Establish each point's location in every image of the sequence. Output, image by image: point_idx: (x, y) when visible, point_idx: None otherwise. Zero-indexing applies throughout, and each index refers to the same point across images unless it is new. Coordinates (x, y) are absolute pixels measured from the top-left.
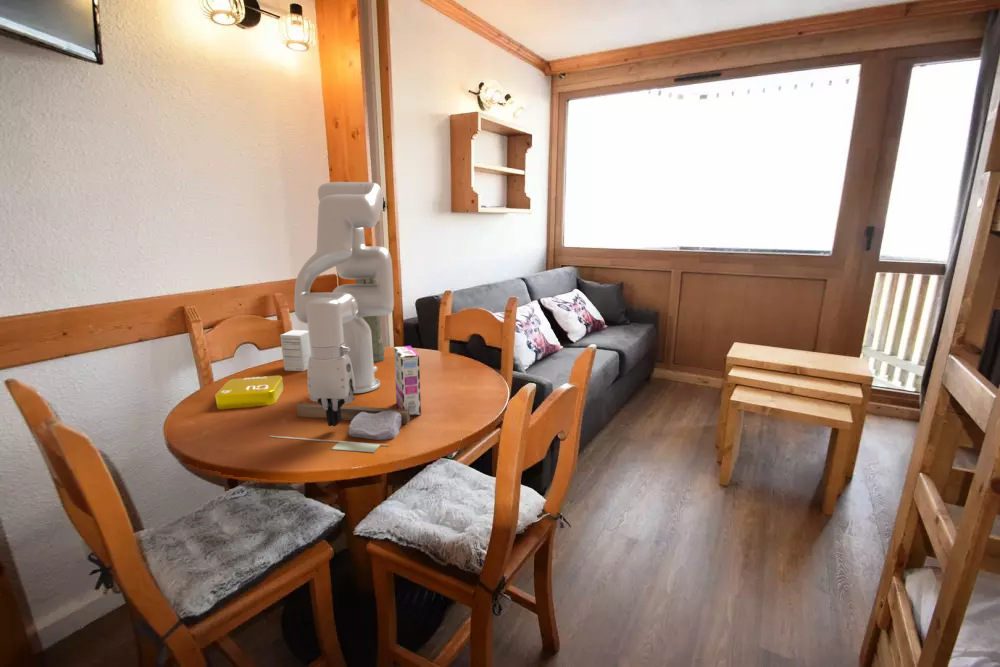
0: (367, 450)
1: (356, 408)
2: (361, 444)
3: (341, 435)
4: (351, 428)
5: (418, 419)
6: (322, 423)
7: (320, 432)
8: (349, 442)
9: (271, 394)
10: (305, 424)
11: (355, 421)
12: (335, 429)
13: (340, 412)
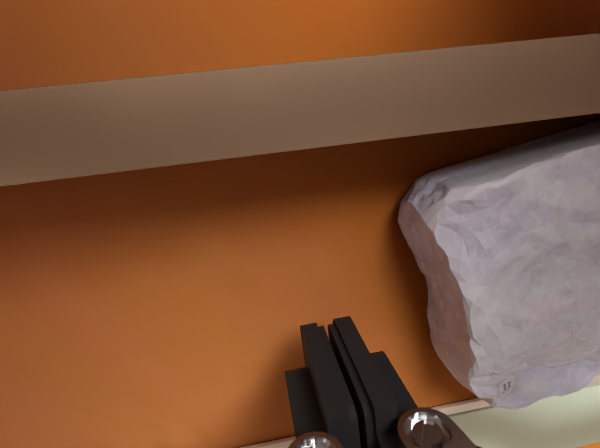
0: (585, 439)
1: (394, 111)
2: (538, 405)
3: None
4: (497, 405)
5: None
6: (143, 252)
7: (232, 364)
8: (471, 409)
9: None
10: (29, 304)
11: (509, 355)
12: (299, 301)
13: (406, 395)
